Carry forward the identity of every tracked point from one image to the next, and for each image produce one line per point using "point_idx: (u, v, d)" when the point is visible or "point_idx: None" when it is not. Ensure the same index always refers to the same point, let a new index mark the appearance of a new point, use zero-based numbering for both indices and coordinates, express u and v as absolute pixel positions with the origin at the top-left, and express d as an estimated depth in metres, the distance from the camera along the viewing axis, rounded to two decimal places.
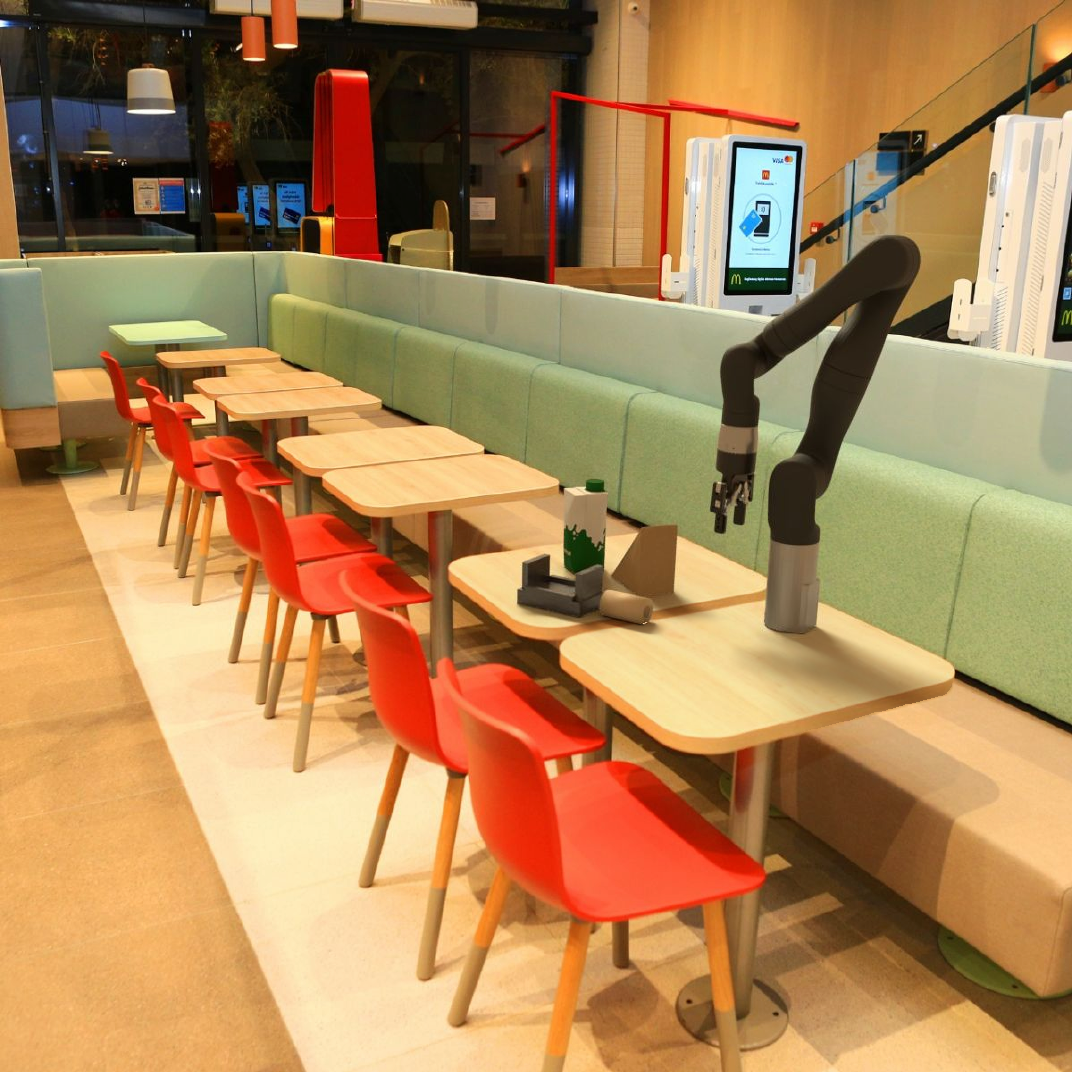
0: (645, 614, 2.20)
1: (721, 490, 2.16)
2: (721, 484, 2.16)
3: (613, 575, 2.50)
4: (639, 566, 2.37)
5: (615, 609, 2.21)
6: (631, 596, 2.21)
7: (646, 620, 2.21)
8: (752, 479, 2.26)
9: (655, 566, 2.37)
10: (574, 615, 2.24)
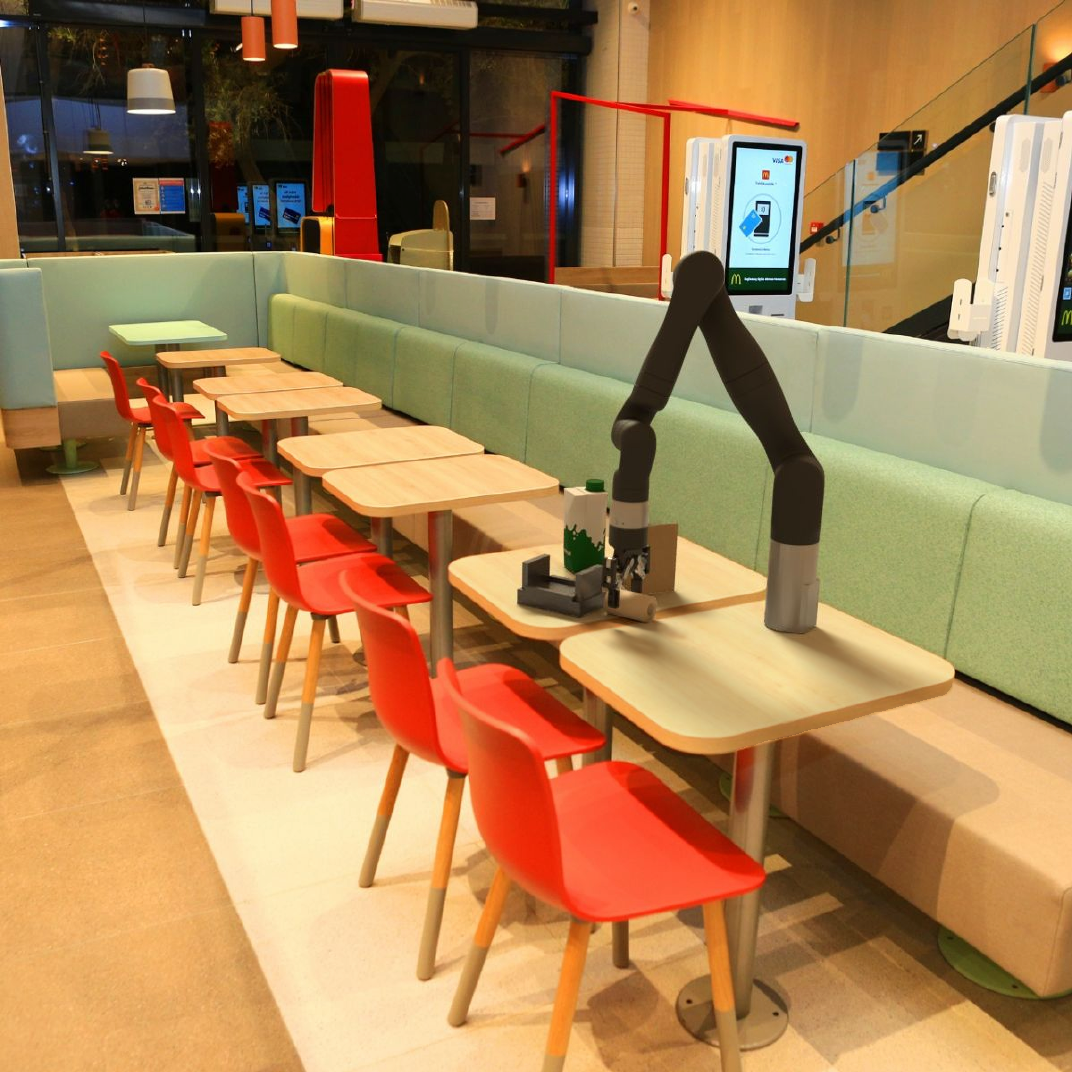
0: (648, 609, 2.21)
1: (611, 566, 2.15)
2: (611, 560, 2.15)
3: None
4: None
5: (621, 597, 2.23)
6: None
7: (646, 618, 2.21)
8: (648, 551, 2.25)
9: (655, 565, 2.38)
10: (574, 615, 2.24)
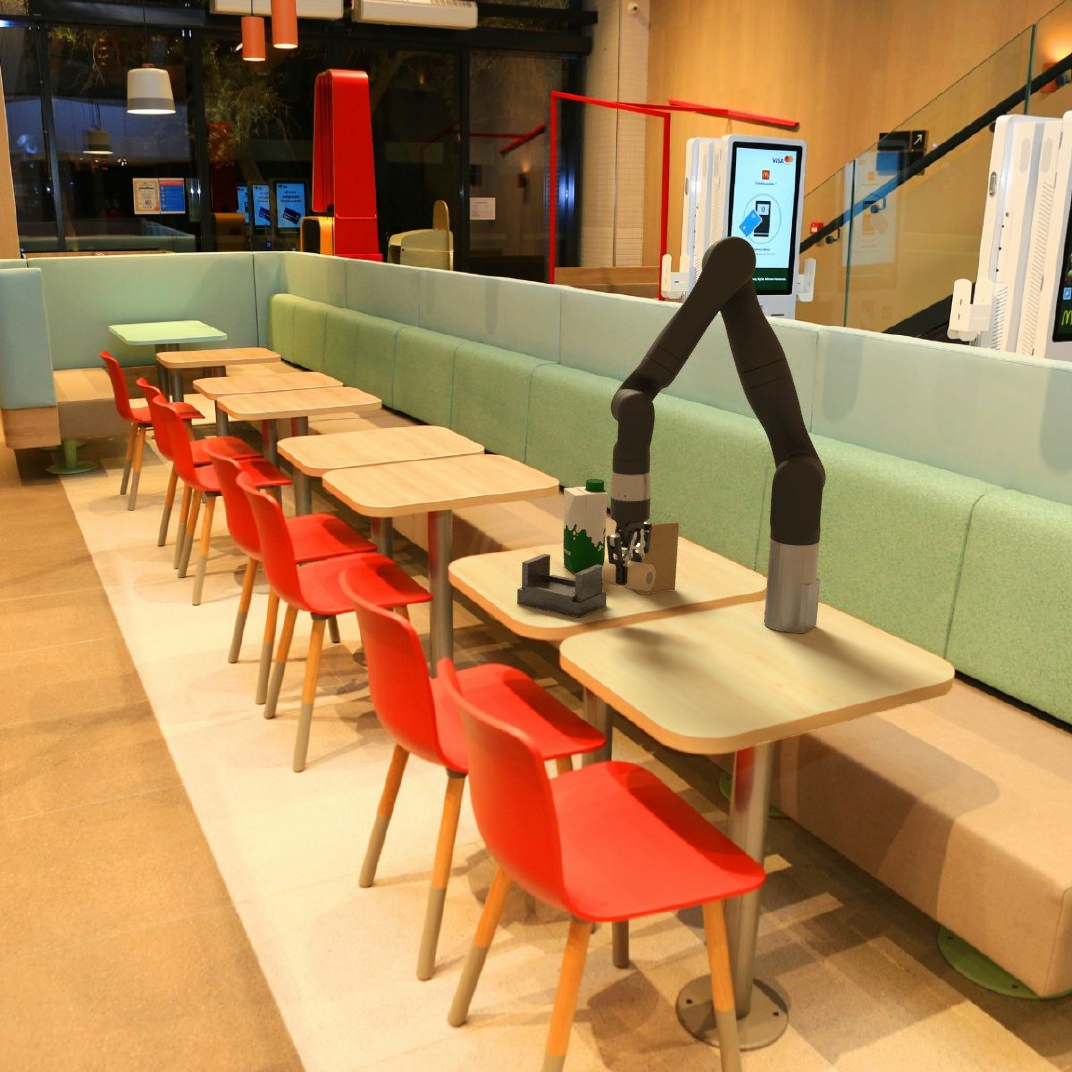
0: (647, 580, 2.18)
1: (615, 544, 2.13)
2: (614, 538, 2.13)
3: None
4: None
5: None
6: (634, 562, 2.19)
7: (649, 587, 2.19)
8: (649, 529, 2.23)
9: (656, 564, 2.39)
10: (574, 615, 2.24)
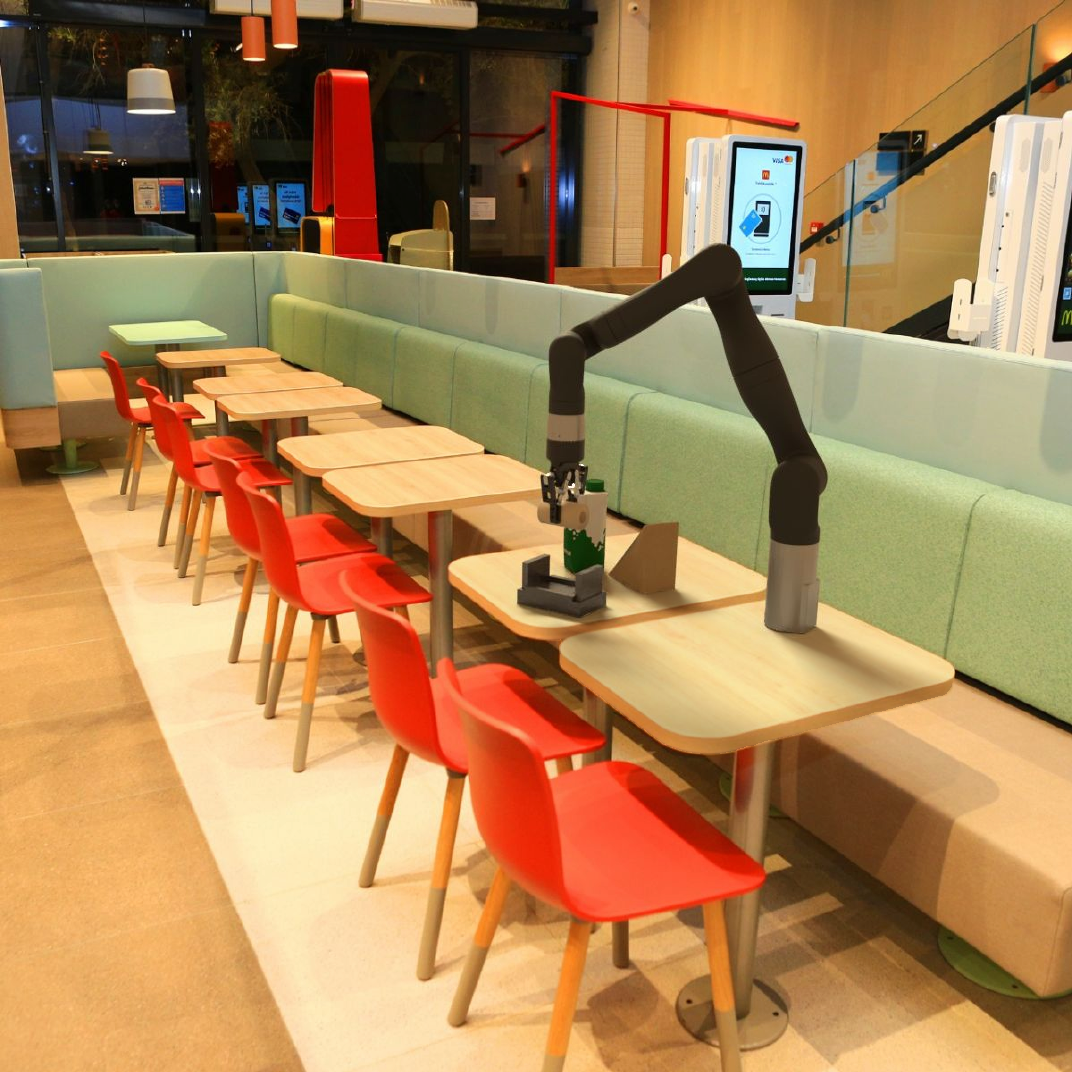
0: (580, 519, 2.24)
1: (548, 482, 2.19)
2: (548, 477, 2.19)
3: (611, 573, 2.51)
4: (642, 564, 2.38)
5: None
6: (568, 502, 2.25)
7: (582, 526, 2.25)
8: (585, 471, 2.29)
9: (657, 563, 2.40)
10: (574, 615, 2.24)
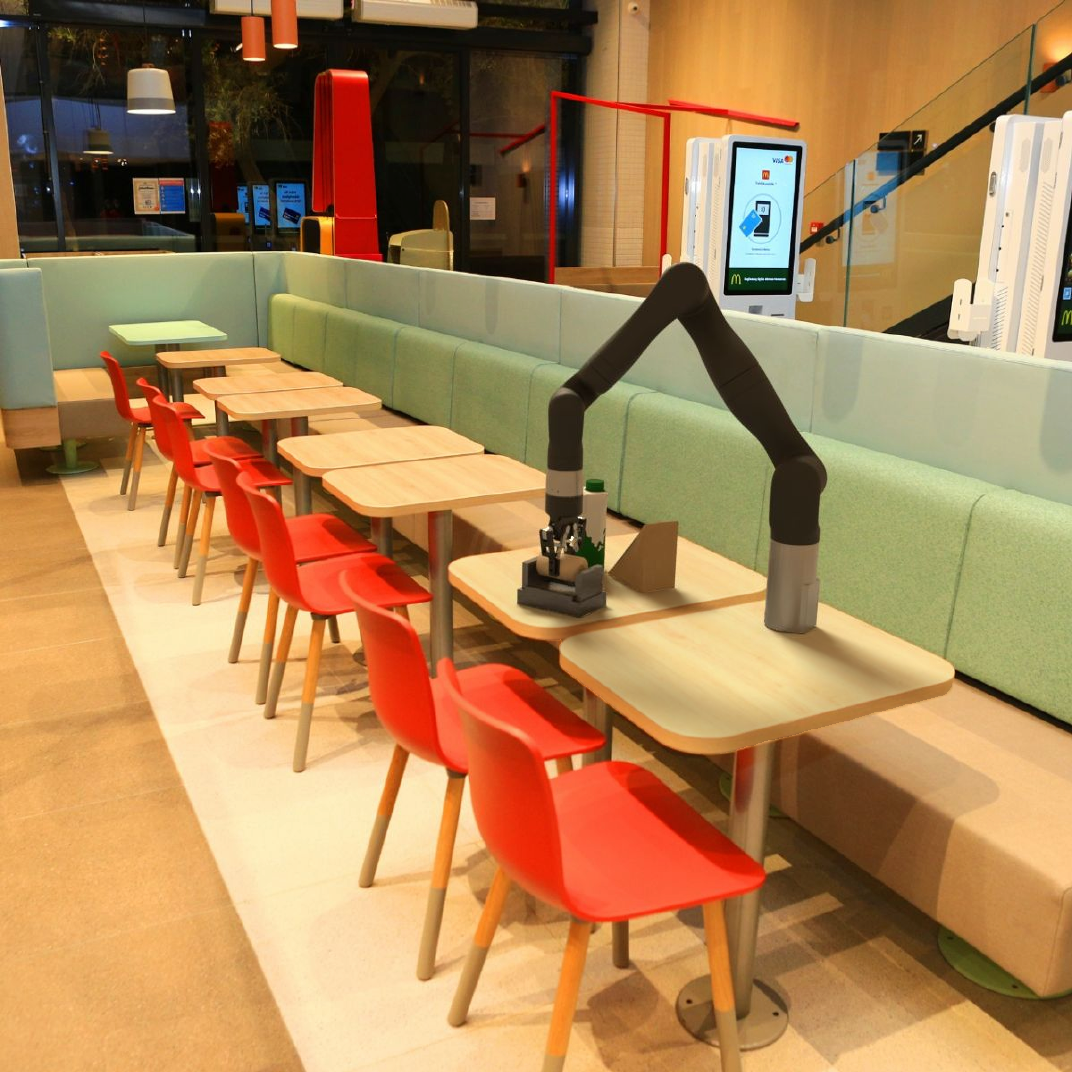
0: None
1: (547, 537, 2.22)
2: (546, 532, 2.22)
3: (610, 573, 2.52)
4: (642, 563, 2.39)
5: None
6: (567, 555, 2.28)
7: None
8: (584, 524, 2.32)
9: (657, 562, 2.40)
10: (574, 615, 2.24)
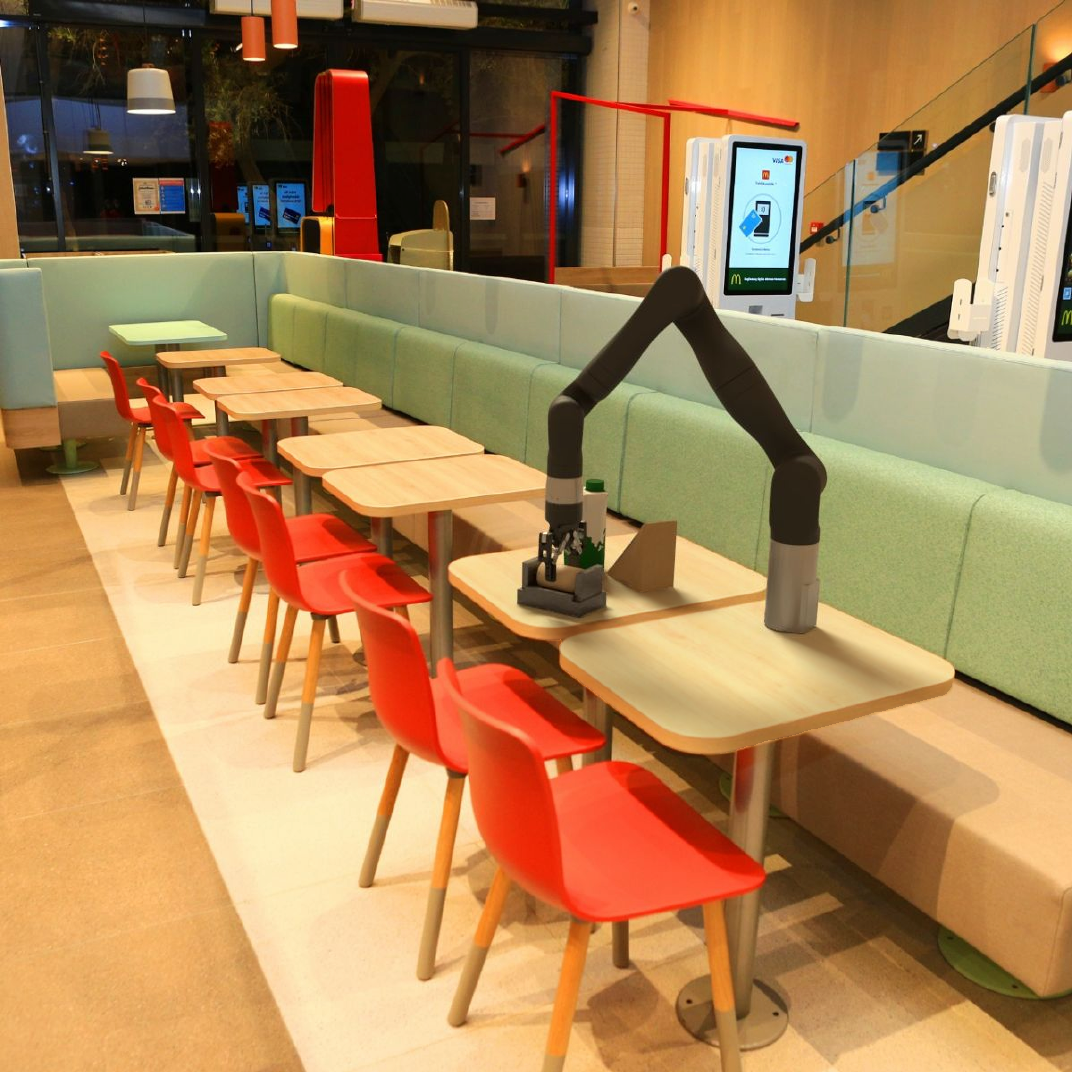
0: None
1: (546, 540, 2.22)
2: (546, 535, 2.22)
3: (609, 572, 2.52)
4: (641, 562, 2.39)
5: None
6: (567, 566, 2.29)
7: None
8: (584, 527, 2.32)
9: (656, 562, 2.40)
10: (574, 615, 2.24)
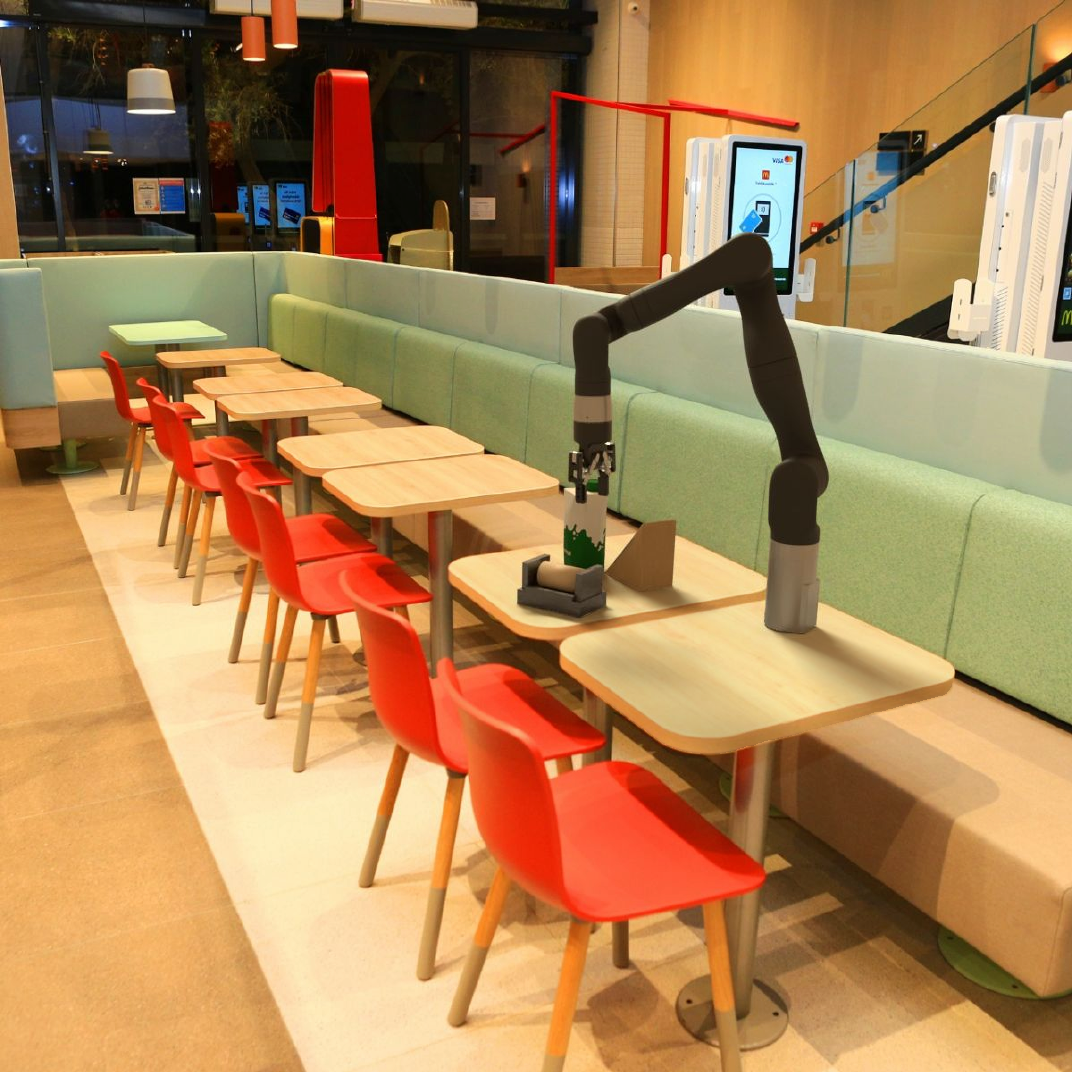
0: None
1: (577, 459, 2.18)
2: (577, 454, 2.18)
3: (608, 571, 2.52)
4: (641, 561, 2.40)
5: (551, 577, 2.29)
6: (568, 566, 2.29)
7: None
8: (613, 449, 2.28)
9: (655, 561, 2.41)
10: (574, 615, 2.24)
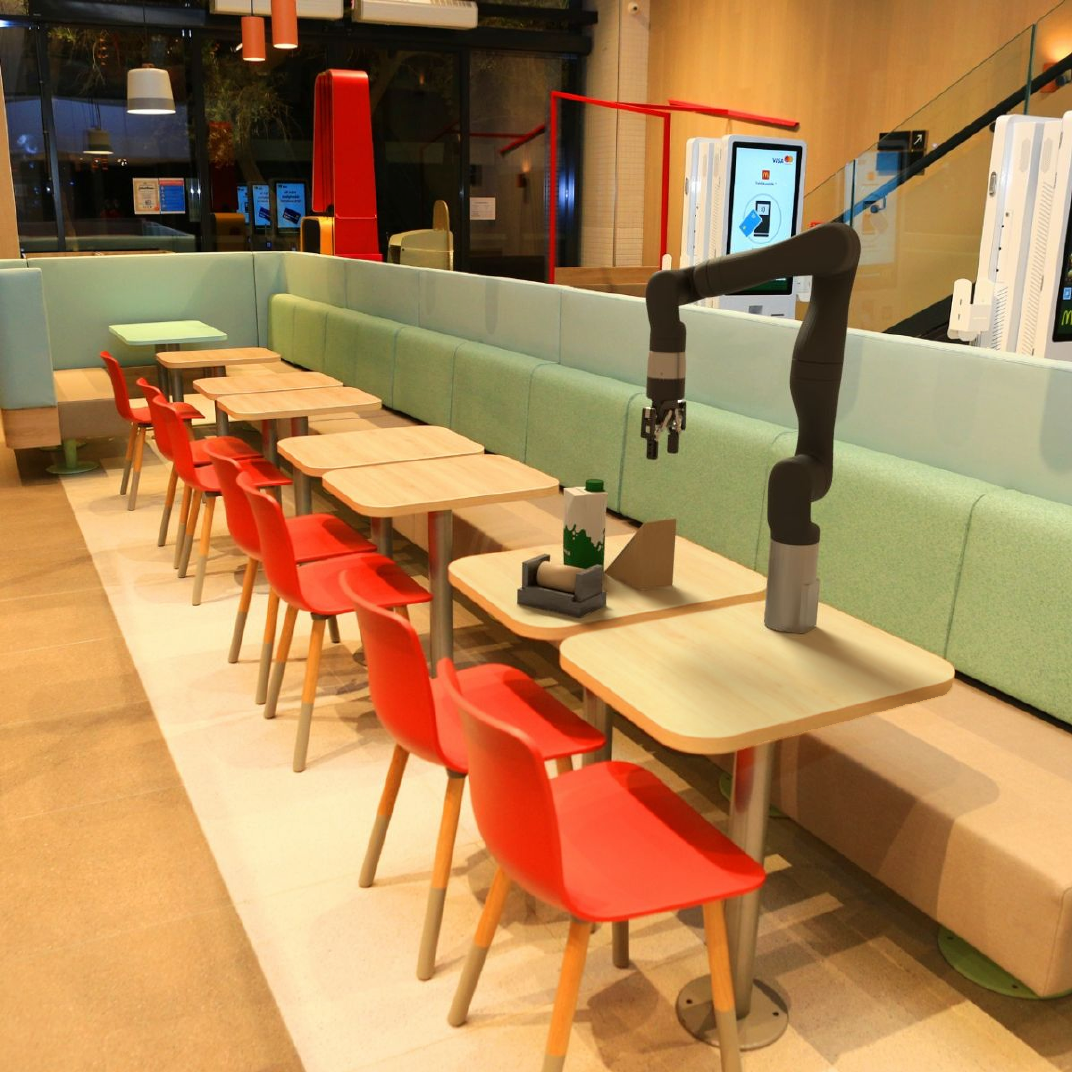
0: None
1: (650, 415, 2.19)
2: (650, 409, 2.19)
3: (607, 571, 2.53)
4: (641, 561, 2.40)
5: (551, 578, 2.29)
6: (567, 566, 2.29)
7: None
8: (684, 407, 2.29)
9: (655, 560, 2.42)
10: (574, 615, 2.24)
